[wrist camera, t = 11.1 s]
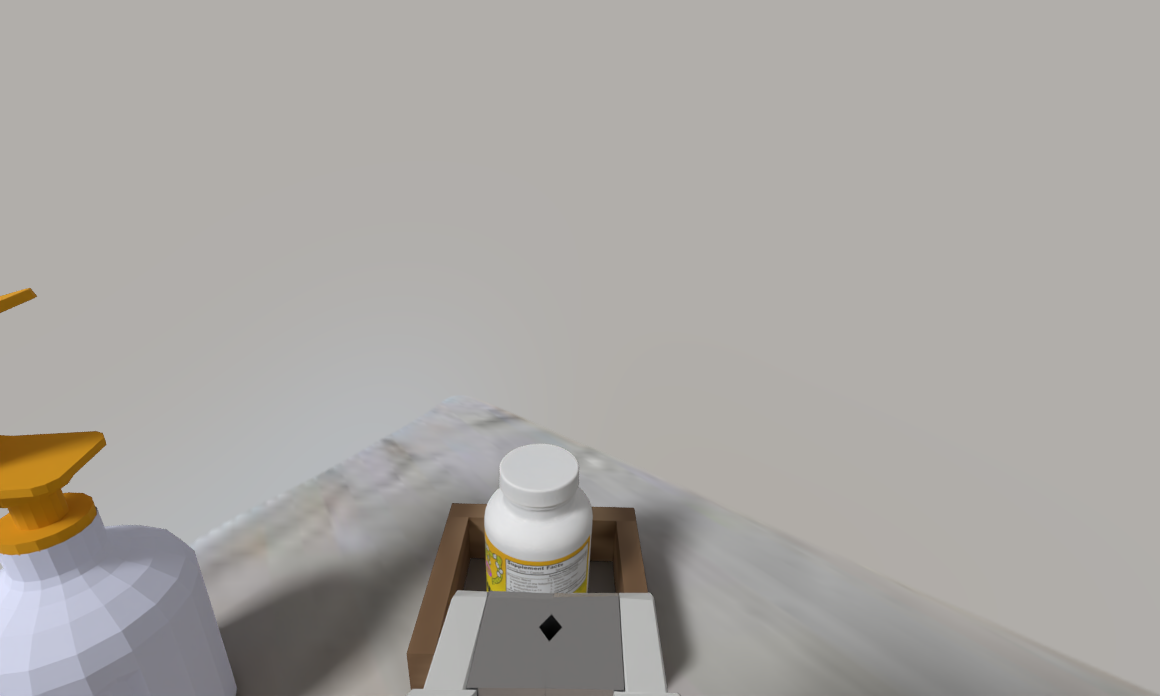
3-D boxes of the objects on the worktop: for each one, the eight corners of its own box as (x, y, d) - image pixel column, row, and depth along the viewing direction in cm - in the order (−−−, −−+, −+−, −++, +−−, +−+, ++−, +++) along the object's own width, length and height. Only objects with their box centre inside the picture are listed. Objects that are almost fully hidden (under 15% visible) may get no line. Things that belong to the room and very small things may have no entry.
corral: (629, 547, 43) (634, 507, 42) (651, 703, 32) (658, 657, 30) (454, 543, 43) (452, 503, 41) (412, 701, 31) (406, 653, 30)
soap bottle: (197, 816, 26) (1, 347, 16) (-31, 857, 24) (-406, 359, 14) (261, 648, 34) (156, 267, 24) (94, 669, 32) (-91, 269, 22)
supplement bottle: (501, 576, 40) (498, 428, 35) (590, 587, 39) (600, 438, 34) (475, 659, 34) (467, 494, 29) (579, 673, 33) (590, 508, 28)
